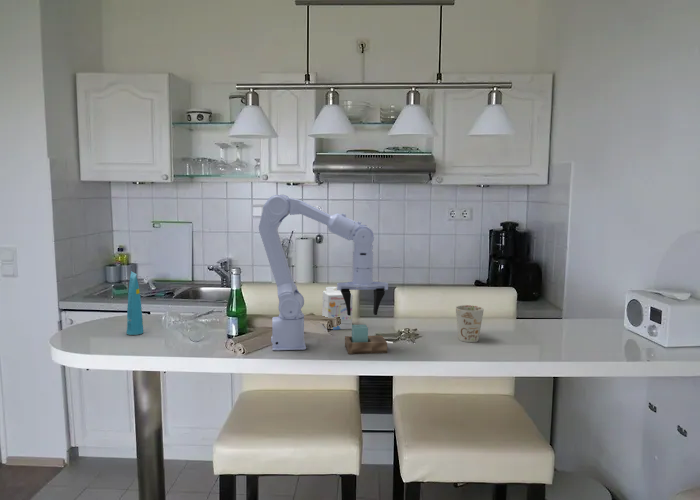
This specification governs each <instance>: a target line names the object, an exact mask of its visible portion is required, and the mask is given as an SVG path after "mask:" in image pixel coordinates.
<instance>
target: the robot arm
mask: <svg viewBox="0 0 700 500" xmlns="http://www.w3.org/2000/svg"><path fill="white" fill-rule="evenodd" d="M289 215H290V216H292V215H293V216H295V215H302V216H305V217H307V218H310V219H312V220H314V221H316V222H319V223H321V224H323V225H325V226H327V229H328V231H329V232H330V233H332V234H334V235H337V236H339V237H341V238H342V239H345V240H347V241H353V243H354V244H353V251H352V281H345V282H343V281H342V282H337V283H336V287H337V288H336V290H340V291H341V293H342V295H343V298H344V301H345V304H346V308H347V314H348V315H351V308H350V300H351V294H352V293H351V291H358V290H359V291H361V290H364V291H365V290H366V291H367V290H369V291H370V290H373V309H372V311H373V315H374V316H378V311H379V308H380V304H381V302H382V299H383V298H384V296H385V293H386V291H388V290H389V283H388V282H386V281H384V282H383V281H373V278H374V274H373V273H374V271H373V270H374V251H373V250H374V245H373V243H374V240H375V236H374V232H373V229H372V228H371V227H369V226H368V225H367V224H362V222H361V221H359V220H357V221H356V220H354V219H351V218H349V217H347V214H346V213H344V212H342V213H338V212H337V213H334V214H330V213H328V212H325V211H324V210H322V209H319V208H318V207H316V206H313V205H311V204H310V203H307V202H306V201H304V200H300V199H298V198H294V197H289V196H288V195H285V194H273V195H271V196H270V197H269V198H268V199H267V200H266V201H265V203H264V205H263V206H262V212H261V217H260V221H259V224H258V231H259V234H260V238H261V241H262V244H263V247H264V250H265V253H266V256H267V259H268V263H269V266H270V269H271V271H272V275H273V278H274V281H275V284H276V288H277V298H278V312H279V314H278V316H273V317H272V323H271V324H272V326H271V327H272V329H271V330H272V331H271V334H272V335H271V336H270V338H271V339H270V342H271V344H272V346H271V347H272V349H271V350H272V351H298V350H300V351H301V350H306V349H307V346H306V341H305V314H304V313H303V311H302V309H303V307H304V305H305V298H304V295H302V294H301V292H299V290H298V287H297V285H296V283H295V281H294V279H293V276H292V272H291V269H290V266H289V263H288V260H287V257H286V253H285V251H284V248H283V244H282V241H281V238H280V235H279V232H278V229H279V227H280V225H281V224H282V222H283V220H284V219H285V218H286V217H287V216H289Z"/></svg>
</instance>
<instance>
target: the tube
mask: <svg viewBox="0 0 700 500" xmlns="http://www.w3.org/2000/svg"><path fill="white" fill-rule="evenodd" d="M137 275H138V274H137V273H135V272H133V271H130V276H129V284H128V292H127V293H128V295H127V307H126V308H127V309H126V310H127V312H126V313H127V314H126V335H128V336H129V335H130V336H137V335H142V334H143V333H144V322H143V319H144V318H143V309H142V302H141V300H142V299H141V298H142V297H141V291H140V287H139V282H138V281H139V280H138V278H137Z"/></svg>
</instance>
